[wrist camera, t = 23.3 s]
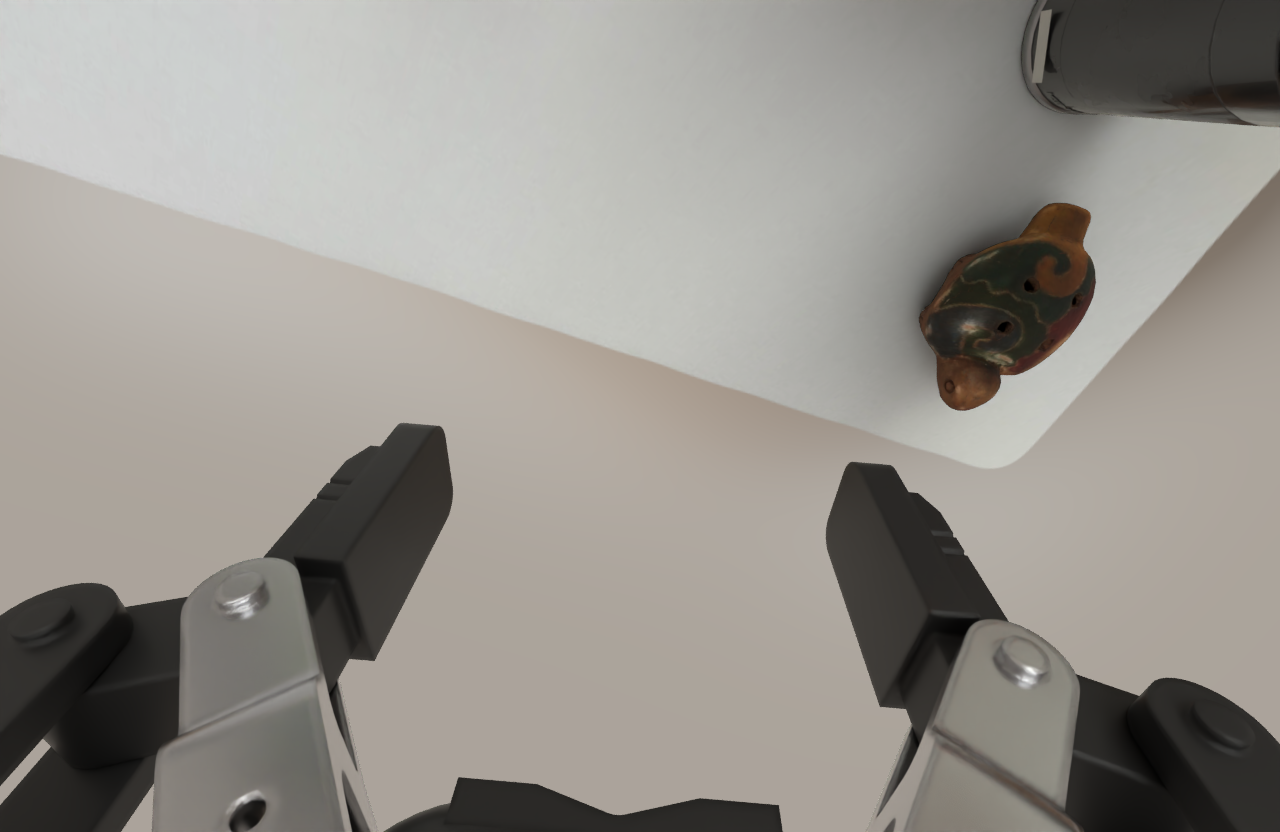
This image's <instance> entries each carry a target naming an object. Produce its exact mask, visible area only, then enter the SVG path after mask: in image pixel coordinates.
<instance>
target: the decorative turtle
mask: <svg viewBox="0 0 1280 832" xmlns="http://www.w3.org/2000/svg"><path fill="white" fill-rule="evenodd" d="M1090 219H1091V215H1090V212H1089V211H1088V210H1086V209H1084V208H1081V207H1079V206H1075V205H1071V204H1067V203H1052V204H1048V205H1046V206H1045V207H1043V208H1042V209H1041V210H1040V211H1039V212H1038V213H1037V214H1036V215H1035V216H1034V217H1033V219H1032V220H1031V222H1030V223H1029V225H1028V226H1027V227H1026V229H1025V230H1024V231H1023V233H1022V234H1021V235H1020V236H1019V238H1017V239H1013V240H1009V241H1006V242H1002V243H999V244H996V245H994V246H991V247H989V248H987V249H985V250H983V251H981V252H979V253H977V254H970V255H966V256H965V257H962V258H960V259H959V260H958V261H957V262H956V263H955V265H954V266H953V268H952V269H951V270H950V272H949V273H948V276H947V278H946V280H945V282H944V284H943V285H942V287H941V289H940V290H939V292H938V293H937V295H936V297H935V298H934V300H933V301H932V303H931V304H930V305H928V306H927V307H925V310H923V311H922V312H921V314H920V317H919V323H920V327H921V330H922V333H923V335H924V337H925V339H926V341H927V342H928V344H929V346H930V347H931V348H932V349H933V351H934V352H935V354H936V359H937V383H938V388H939V393H940V396H941V398H942V400H943V401H944V402H945V403H946V404H947V405H948V406H949V407H950V408H952V409H955V410H962V411H965V410H970V409H973V408H976V407H978V406H980V405H982V404H984V403H986V402H987V401H989V400H990V399H991V398H993V397H994V396H995V394H996V393H997V391H998V390H999V388H1000V384H1001V378H1000V375H1017V374H1020V373H1023V372H1025V371H1027V370H1029V369H1031V368H1033V367H1035V366H1036V365H1037V364H1039V363H1040V362H1042V361H1043V360H1045V359H1046V358H1047V357H1049V356H1050V355H1051V354H1052V353H1053V352H1055V351H1056V350H1057V349H1058V348H1059V347H1060V346H1061V345H1062V344H1063V343H1064V342H1065V341H1066V340H1067V339H1068V338H1069V337H1070V336H1071V334H1072V333H1073V332H1074V330H1075V329H1076V328H1077V326H1078V325H1079V323H1080V322H1081V320H1082V319H1083V317H1084V315H1085V313H1086V311H1087V309H1088V307H1089V305H1090V303H1091V300H1092V298H1093V294H1094V289H1095V283H1096V279H1095V269H1094V265H1093V262H1092V259H1091V258H1090V256H1089V255H1088V254H1087V252H1086V251H1085V250H1084V247H1083V239H1084V237H1085V234H1086V231H1087V228H1088V226H1089V223H1090Z"/></svg>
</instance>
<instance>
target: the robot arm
mask: <svg viewBox="0 0 1280 832" xmlns="http://www.w3.org/2000/svg"><path fill="white" fill-rule="evenodd" d="M1022 69H1023V75H1024V78H1025V81H1026V84H1027V86H1028V88H1029V90H1030V92H1031V93H1032V95H1033V96H1034V97H1035V98H1036V99H1037V100H1038V101H1039V102H1040V103H1041V104H1042V105H1044V106H1045V107H1047V108H1049V109H1051V110H1053V111H1056V112H1060V113H1067V114H1094V115H1097V114H1103V115H1114V116H1128V117H1142V118H1156V119H1170V120H1183V121H1197V122H1211V123H1225V124H1239V125H1253V126H1267V127H1280V0H1038V1H1037V3H1036V5H1035V7H1034V9H1033V12H1032V14H1031V16H1030V19H1029V22H1028V24H1027V28H1026V31H1025V35H1024V40H1023V46H1022ZM452 498H453V486H452V480H451V473H450V466H449V459H448V452H447V445H446V438H445V433H444V431H443V429H442V428H441V427H440V426H433V425H432V426H431V425H421V424H409V423H400V424H399V425H398V426H397V427H396V428H395V429H394V430H393V432H392V433H391V434H390V435H389V436H388V438H387V439H386V440H385V442H384V443H383V444H382V445H381V446H369V447H368V448H366V449H365V450H363V451H361V452H360V453H358V454H356V455H355V456H353V457H352V458H350V459H348V460H347V461H346V462H345V463H344V464H343V465H342V466H341V468H340V469H339V470H338V471H337V472H336V473H335V474H334V476H333V477H332V478H331V480H330V483H327V484H326V485H325V486H324V487H323V488H322V490H321V491H320V492H319V493H318V494H317V499H313V500H312V501H311V502H310V504H309V505H308V506H307V507H306V508H305V510H304V511H303V512H302V513H301V514H300V515H299V517H298V518H297V519H296V520H295V521H294V522H293V524H292V525H291V526H290V527H289V528H288V529H287V531H286V532H285V533H284V534H283V535H282V536H281V537H280V539H279V540H278V541H277V542H276V543H275V544H274V546H273V547H272V548H271V549H270V550H269V551H268V553H267V554H266V555H265V556H264V557H263V558H257V559H251V560H247V561H243V562H239V563H237V564H234V565H231V566H229V567H227V568H225V569H223V570H220V571H219V572H217V573H216V574H214V575H212V576H210V577H209V578H208V579H206V580H205V581H203V582H202V583H201V584H200V585H199V586H198V587H197V588H196V589H195V590H194V591H193V592H192V593H191V594H190V595H189V597H184V598H178V599H172V600H166V601H160V602H153V603H147V604H141V605H135V606H129V607H124V605H123V604H122V603H121V601H120V599H119V598H118V596H117V595H116V593H115V592H114V591H113V590H112V589H111V588H110V587H108V586H105V585H102V584H96V583H81V584H74V585H68V586H64V587H60V588H57V589H53V590H50V591H47V592H45V593H42V594H40V595H37V596H35V597H32V598H30V599H28V600H26V601H24V602H22V603H20V604H18V605H17V606H15V607H13V608H11V609H10V610H8V611H7V612H5V613H4V614H2V615H1V616H0V786H1V784H2V783H3V782H4V781H5V780H6V779H7V778H8V777H9V776H10V774H11V773H12V772H13V771H14V770H15V769H16V768H17V767H18V765H19V764H20V763H21V762H22V761H23V760H24V758H26V756H27V755H28V754H29V753H30V752H31V751H32V750H33V749H34V748H35V746H36V745H37V744H38V743H39V742H40V741H41V740H42V739H44V740H45V741H46V742H47V743H48V744H49V745H50V746H51V748H50V749H49V750H48V751H47V752H46V753H45V754H44V756H43V757H42V758H41V759H40V760H39V761H38V763H37V764H36V765H35V766H34V767H33V768H32V769H31V770H30V772H29V773H28V774H27V775H26V776H25V777H24V779H23V780H22V781H21V782H20V783H19V784H18V785H17V787H16V788H15V789H14V790H13V791H12V792H11V794H10V795H9V796H8V797H7V798H6V799H5V800H4V801H3V803H2V804H1V805H0V832H121V831H122V829H123V828H124V826H125V825H126V823H127V822H128V821H129V819H130V817H131V816H132V814H133V813H134V812H135V810H136V809H137V807H138V806H139V804H140V803H141V801H142V800H143V798H144V797H145V795H146V794H147V793H148V791H149V790H150V788H151V787H152V785H153V784H154V797H153V817H152V819H153V820H152V832H378V829H377V825H376V822H375V818H374V815H373V811H372V808H371V805H370V802H369V799H368V796H367V792H366V789H365V785H364V781H363V777H362V773H361V768H360V764H359V760H358V756H357V752H356V747H355V743H354V739H353V734H352V730H351V726H350V722H349V717H348V713H347V709H346V705H345V701H344V696H343V692H342V688H341V684H340V682H339V679H338V678H339V676H340V674H341V673H342V671H343V669H344V667H345V665H346V663H347V662H348V660H349V659H358V660H370V661H375V659H376V657H377V655H378V653H379V651H380V649H381V647H382V645H383V643H384V641H385V639H386V637H387V635H388V633H389V631H390V629H391V628H392V626H393V624H394V622H395V619H396V618H397V616H398V614H399V612H400V610H401V608H402V606H403V604H404V602H405V600H406V598H407V596H408V594H409V592H410V590H411V588H412V586H413V585H414V582H415V581H416V579H417V577H418V575H419V573H420V571H421V569H422V567H423V565H424V563H425V561H426V559H427V557H428V555H429V553H430V551H431V549H432V547H433V545H434V544H435V542H436V540H437V538H438V536H439V534H440V532H441V530H442V528H443V526H444V524H445V522H446V520H447V518H448V516H449V512H450V509H451V504H452ZM826 544H827V550H828V553H829V556H830V559H831V562H832V565H833V568H834V571H835V574H836V577H837V580H838V583H839V586H840V589H841V592H842V595H843V598H844V601H845V604H846V607H847V610H848V612H849V616H850V619H851V622H852V625H853V628H854V631H855V634H856V637H857V640H858V643H859V646H860V649H861V652H862V655H863V658H864V661H865V664H866V666H867V670H868V673H869V676H870V678H871V681H872V685H873V688H874V690H875V693H876V696H877V699H878V702H879V705H880V707H889V708H901V709H906V710H907V713H908V715H909V718H910V721H911V723H912V724H911V726H910V727H909V729H908V731H907V732H906V734H905V737H904V739H903V742H902V744H901V747H900V749H899V751H898V754H897V756H896V759H895V761H894V764H893V766H892V769H891V771H890V773H889V776H888V778H887V781H886V783H885V786H884V788H883V791H882V793H881V796H880V798H879V800H878V803H877V805H876V808H875V810H874V813H873V815H872V818H871V820H870V822H869V825H868V827H867V829H866V832H1280V744H1279V743H1278V742H1277V741H1276V739H1275V738H1274V737H1273V736H1272V735H1271V734H1270V733H1269V732H1268V731H1267V730H1266V729H1265V728H1264V727H1263V726H1262V725H1261V724H1260V723H1259V722H1258V721H1257V720H1256V719H1255V718H1253V717H1252V716H1251V715H1249V714H1248V713H1247V712H1246V711H1244V710H1243V709H1242V708H1240V707H1239V706H1237V705H1236V704H1235V703H1233V702H1232V701H1230V700H1228V699H1227V698H1225V697H1223V696H1222V695H1220V694H1218V693H1216V692H1214V691H1212V690H1210V689H1208V688H1205V687H1203V686H1201V685H1198V684H1196V683H1193V682H1190V681H1186V680H1182V679H1177V678H1162V679H1158V680H1156V681H1154V682H1153V683H1152V684H1151V685H1150V686H1149V687H1148V688H1147V689H1146V690H1145V691H1144V692H1143V693H1142V694H1141V695H1140V696H1137V695H1135V694H1131V693H1129V692H1126V691H1123V690H1120V689H1117V688H1114V687H1111V686H1108V685H1105V684H1102V683H1100V682H1097V681H1094V680H1091V679H1088V678H1085V677H1082V676H1080V675H1077V674H1075V672H1074V670H1073V669H1072V667H1071V665H1070V664H1069V662H1068V661H1067V660H1066V659H1065V658H1064V656H1063V655H1062V654H1061V653H1060V652H1059V651H1058V650H1056V648H1055V647H1053V646H1052V645H1051V644H1050V643H1048V642H1047V641H1046V640H1044V639H1043V638H1042V637H1040V636H1039V635H1037V634H1035V633H1034V632H1032V631H1030V630H1028V629H1026V628H1024V627H1022V626H1020V625H1017V624H1014V623H1011V622H1009V621H1008V620H1007V618H1006V617H1005V615H1004V613H1003V612H1002V610H1001V609H1000V607H999V605H998V604H997V602H996V601H995V599H994V597H993V596H992V594H991V593H990V591H989V590H988V588H987V586H986V585H985V583H984V581H983V580H982V578H981V577H980V575H979V574H978V572H977V570H976V569H975V567H974V566H973V564H972V562H971V561H970V559H969V558H968V556H965V555H964V550H963V548H962V547H961V545H960V543H959V542H958V540H957V538H954V537H953V532H952V531H951V529H950V527H949V526H948V524H947V523H946V521H945V519H944V518H943V516H942V515H941V513H940V512H939V511H938V510H937V509H936V508H935V507H933V506H932V505H931V504H930V503H929V502H928V501H926V500H925V499H924V498H923V497H922V496H921V495H919V494H918V493H911V492H908V491H907V489H906V487H905V485H904V484H903V482H902V480H901V479H900V477H899V475H898V474H897V472H896V470H895V469H894V467H892V466H891V465H883V464H871V463H859V462H850V463H849V464H848V465H847V467H846V468H845V471H844V474H843V476H842V480H841V482H840V485H839V489H838V491H837V494H836V497H835V501H834V503H833V506H832V509H831V512H830V515H829V518H828V522H827V527H826ZM384 832H783V831H782V824H781V818H780V812H779V805H770V804H758V803H747V802H735V801H724V800H712V799H701V798H700V799H695V800H690V801H686V802H681V803H677V804H672V805H668V806H663V807H658V808H654V809H649V810H644V811H640V812H635V813H630V814H626V815H612V814H609V813H606V812H604V811H601V810H599V809H597V808H594V807H592V806H589V805H587V804H584V803H582V802H579V801H577V800H574V799H572V798H570V797H567V796H565V795H562V794H559V793H557V792H555V791H552V790H550V789H547V788H545V787H543V786H540V785H538V784H529V783H517V782H506V781H494V780H483V779H471V778H460V777H459V778H458V780H457V784H456V787H455V790H454V794H453V797H452V800H451V803H449V804H445V805H440V806H437V807H434V808H431V809H429V810H425V811H423V812H420V813H417V814H415V815H413V816H411V817H409V818H407V819H405V820H403V821H401V822H399V823H397V824H395V825H394V826H392V827H390V828H389V829H387V830H386V831H384Z"/></svg>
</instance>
